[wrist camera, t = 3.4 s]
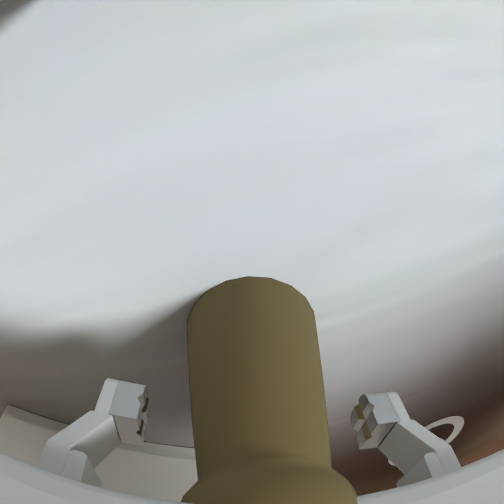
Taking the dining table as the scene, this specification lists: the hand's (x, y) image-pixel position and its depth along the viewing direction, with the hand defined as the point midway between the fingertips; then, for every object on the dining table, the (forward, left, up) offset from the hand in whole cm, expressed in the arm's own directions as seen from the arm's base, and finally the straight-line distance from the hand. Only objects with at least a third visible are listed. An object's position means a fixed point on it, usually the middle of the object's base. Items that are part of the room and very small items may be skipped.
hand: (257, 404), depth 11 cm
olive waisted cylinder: (0, 0, -4) cm, 4 cm away
